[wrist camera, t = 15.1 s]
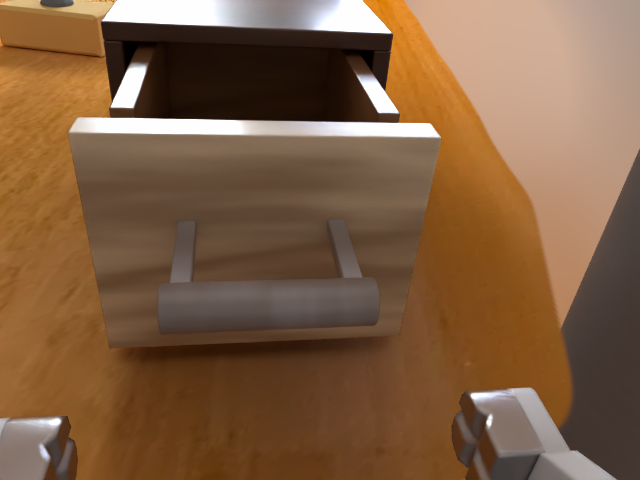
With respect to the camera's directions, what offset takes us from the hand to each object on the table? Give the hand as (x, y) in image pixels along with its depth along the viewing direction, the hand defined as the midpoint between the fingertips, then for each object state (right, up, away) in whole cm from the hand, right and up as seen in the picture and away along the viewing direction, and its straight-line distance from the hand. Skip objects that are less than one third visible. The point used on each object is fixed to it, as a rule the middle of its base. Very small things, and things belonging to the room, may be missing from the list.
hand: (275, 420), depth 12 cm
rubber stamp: (-24, +23, +43) cm, 55 cm away
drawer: (-2, +3, +14) cm, 15 cm away
